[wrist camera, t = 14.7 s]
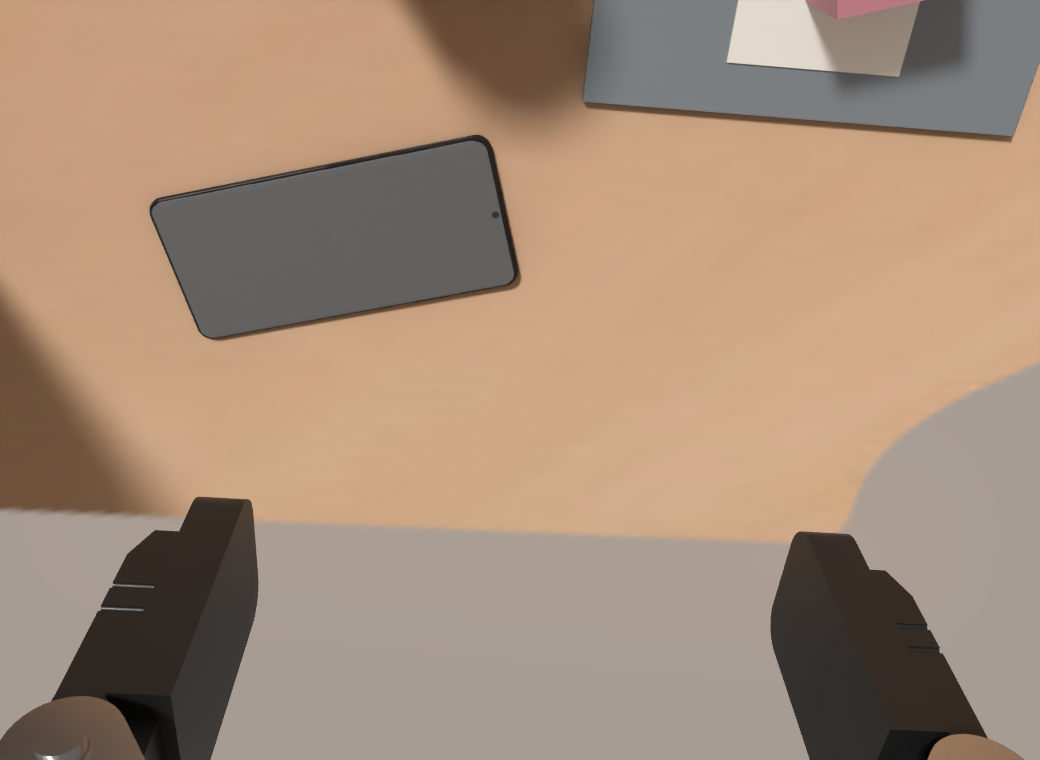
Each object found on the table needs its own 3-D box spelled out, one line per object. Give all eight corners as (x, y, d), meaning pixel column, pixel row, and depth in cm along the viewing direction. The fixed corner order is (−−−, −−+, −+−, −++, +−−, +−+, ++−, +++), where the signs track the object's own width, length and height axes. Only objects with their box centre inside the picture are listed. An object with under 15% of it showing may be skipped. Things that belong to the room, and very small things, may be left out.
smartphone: (142, 203, 40) (487, 135, 38) (150, 196, 41) (488, 129, 39) (201, 343, 43) (520, 285, 42) (207, 334, 44) (520, 277, 43)
